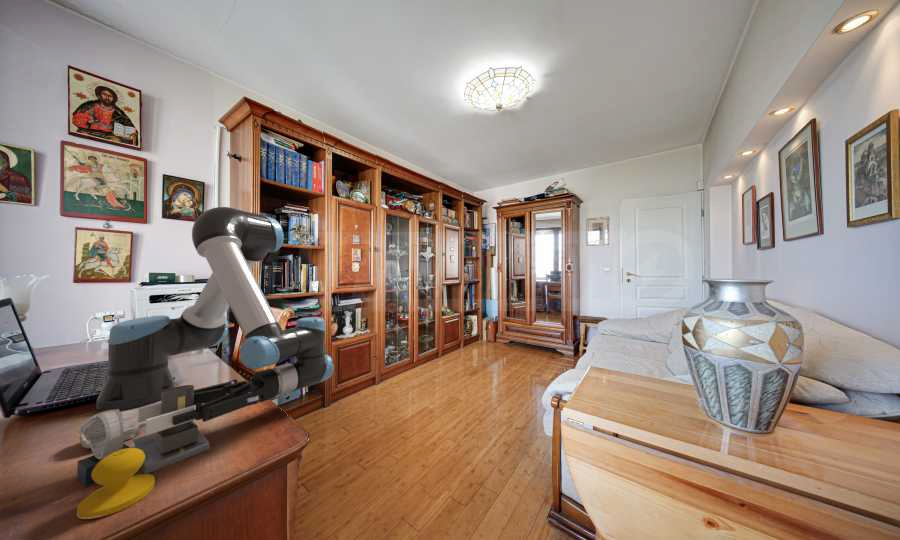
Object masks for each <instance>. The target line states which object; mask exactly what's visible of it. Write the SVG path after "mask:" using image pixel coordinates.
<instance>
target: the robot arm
mask: <svg viewBox="0 0 900 540" xmlns="http://www.w3.org/2000/svg"><path fill="white" fill-rule="evenodd" d="M284 237H285V235H284V231H283V228H282V226H281V224H280V223H279V221H278V220H276V219H275V218H272V217H269V216H267V215H265V214H258V213H254V212H249V211H245V210H240V209H237V208H233V207H229V206H218V207H212V208H209V209H207V210H205V211H204V212H202V213H201V214H200V215H199V216H198V217H197V218H196V220H195V221H194V223H193V226H192V229H191V239H192V244H193V246H194V248H195V250H196V252H197V254H198V255H199V256H200V257H202V258H205V259H206V261H207V263H208V266H209V267H210V270H211V272H212V273H211V275H210V276H209V278H208V279H207V281H206V283H205V285H204V287H203V288H202V290H201V292H200V294H199V295H198V297H197V299H196V301H195V302H194V304H193V305H191V306H188V307H186V308H185V309H184V310H183V311H182V313H181V315H180V316H179V317H178V318H170V316H168V315H152V316H144V317H137V318H134V319H133V318H132V319H128V320H124V321H121V322H118V323H116V324H114V325H113V326H112V327H111V328H110V330H109V337H108V340H107V344H108V350H107V351H108V353H107V354H108V357H107V358H108V361H107V362H108V363H107V377H106V381H105V383H104V384H103V386H102V388H101V391H100V393H99V395H98V397H97V399H96V410H97V411H100V412H104V411H108V410H116V409H119V411H121V410H122V411H123V410H130V409H133V408H138V407H139V408H138V423H141V422H144V421H146V426H145V433H144V434H145V436H146V435H150V434H153V433H156V432H159V431H162V430H165V429H168V428H171V427H174V426H177V425H180V424H183V423H186V422H189V421H192V420H193V421H194V420H195V421H200V420H201V421H202V422H203V423H205V422H207V421H210V420H213V419H216V418H218V417H222V416H224V415H227V414H230V413H231V412H232V413H233V412H235V411H238V410H240V409H243V408H246V407H249V406H253V405H256V404H259V403H263V402H266V401H269V400H271V399H275V398H276V397H280V396H287V395H288V394H289V393H292V392H294V391H297V390H301V389H303V388H307V387H310V386H313V385H317V384H319V383H322V382H325V381H326V380H328V379H330V378H331V377H332V376H333V373H334V368H335V367H334V366H335V365H334V364H333V359H332V357H331V356H330V355H329V354H326V353H325V347H326V346H325V344H326V343H325V341H326V340H325V339H326V324H325V323H326V321H325V319H324V318H322V317H318V316H308V317H307V316H306V317H302V318H301V317H300V318H299V319H296V324H295V327H293V328H288V329H284V330H283V328H282V327H281V325H280V323H279V322H278V320H277V318H276V316H275V314H274V312H273V310H272V308H271V306H270V303H269V302H268V300H267V297H266V296H265V295H264V293H263V291H262V289H261V287H260V285H259V283H258V280H257V279H256V277H255V275H254V273H253V270H252V269H253V268H254V265H255V264H256V263H261V262H262V261H264V259H265V258H266V256H267V255H268V253H273V252H277V251H279V250H280V249H281V248H282V246H283V244H284ZM229 307H230V310H231V312H232V314H233V316H234V318H235V320H236V322H237V324H238V325H239V328H240V331H241V332H242V334H243V336H244V338H245V340H244V341H243V342H242V343H241V345H240V346H239V350H238V351H239V354H240V356H239V359H240V361H241V363H242V365H244V367H245V368H247V369H251V370H258V369H262V368H265V367H270V366H273V365H275V364H277V363H281V362H282V361H286V360H289V359H291V358H295V361H293V362H290V363H285V364H282V365H278V366H274V367H273V368H271V367H270V368H267V369H262V370H258V371H256V372H255V373H254V374H253V375H252V378H251V379H250V380H240V381H238V379H236V378H235V379H232V380H229V381H227V382H222V383H219V384H218V383H217V384H214V385H209V386H206V387H205V386H204V387H201V388H198V389H197V388H196V389H194V406H190V407H187V408H183V409H180V410H176V411H173V412H170V413H166V414H163V415H161V393H162V392H163V391H165V390H167V389H170V388H174V387H177V385H176V382H175V379H174V377H173V375H172V373H171V370H170V368H169V357H172V356H177V355H181V354H186V353H192V352H195V351H200V350H205V349H209V348H211V347H215V346H217V345H219V344H220V343H222V342H223V341H224V340H225V338H226V337H227V335H228V332H229V329H228V328H229V322H228V319H227V316H226V314H225V313H226V312H227V311H228V310H229V309H228V308H229ZM158 400H159V401H160V402H159V401H158ZM142 406H143V407H142Z"/></svg>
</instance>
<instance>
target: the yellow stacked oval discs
mask: <svg viewBox="0 0 900 540" xmlns="http://www.w3.org/2000/svg"><path fill="white" fill-rule="evenodd" d="M144 460H145V453H144V452H143V451H142V450H140V449H138V448H132V447H130V448H127V449H122V450H119V451H116V452H114V453H112V454H110V455H108V456H106V457H105V458H103V459H102V460H101V461H100V462H99V463H98V464H97V465H96V466H95V467H94V469H93V471H92V474H91V476H92V479H93V480H94V481H95V484H98V485H99V486H100V485H101V486H102V487H100V488H98V489H96V490H95V491H93V492H92V493H90V494H89V495H88V496H86V497H84V499H82V500H81V501H80V502H79V504H78V506H77V509H76V515H77V514H78V516H80V517H86V518H88V517H93V516H99V515H100V516H101V515H106V514H111V515H113V514H112V513H114V514H116V513H118V512H120V510H121V511H123V510H125V509H127V508H129V507H131V506H133V505H135V504H136V503H138V502H140V501H141V500H142V499H143V498H144V499H145V497H146V496H147V495H148V494H149V493H151V492H152V491H153V489H154V487H155V483H156V480H155V479H156V478H155V476H154V475H152V474H151V473H149V474H145V473H144V474H143V473H142V474H141V473H140V474H136V473H137V472H138V471H139V470H140V468H142V467H141V466H142V464H143V462H144ZM128 506H129V507H128ZM124 508H125V509H124ZM122 509H123V510H122ZM115 512H116V513H115Z"/></svg>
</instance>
